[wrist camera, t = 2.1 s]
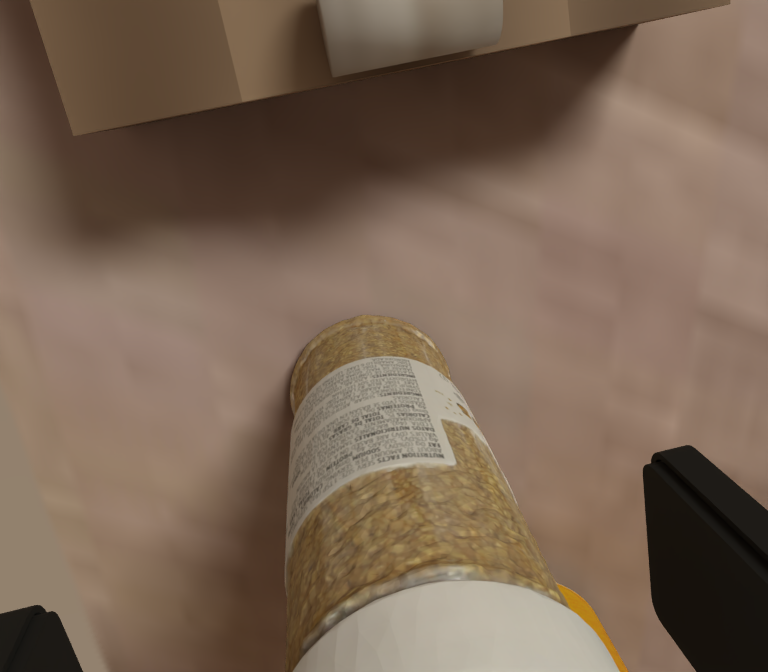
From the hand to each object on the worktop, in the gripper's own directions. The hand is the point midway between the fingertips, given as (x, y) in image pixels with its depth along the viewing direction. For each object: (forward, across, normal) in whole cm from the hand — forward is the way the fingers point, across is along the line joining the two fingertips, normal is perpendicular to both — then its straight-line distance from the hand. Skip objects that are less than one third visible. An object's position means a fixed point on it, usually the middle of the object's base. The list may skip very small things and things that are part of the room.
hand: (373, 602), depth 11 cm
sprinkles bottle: (+10, -1, 0) cm, 10 cm away
